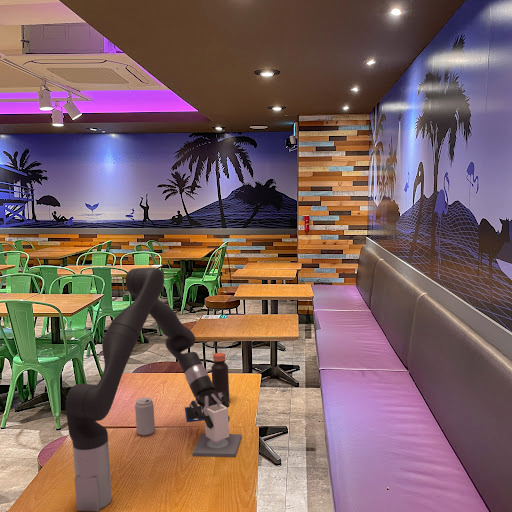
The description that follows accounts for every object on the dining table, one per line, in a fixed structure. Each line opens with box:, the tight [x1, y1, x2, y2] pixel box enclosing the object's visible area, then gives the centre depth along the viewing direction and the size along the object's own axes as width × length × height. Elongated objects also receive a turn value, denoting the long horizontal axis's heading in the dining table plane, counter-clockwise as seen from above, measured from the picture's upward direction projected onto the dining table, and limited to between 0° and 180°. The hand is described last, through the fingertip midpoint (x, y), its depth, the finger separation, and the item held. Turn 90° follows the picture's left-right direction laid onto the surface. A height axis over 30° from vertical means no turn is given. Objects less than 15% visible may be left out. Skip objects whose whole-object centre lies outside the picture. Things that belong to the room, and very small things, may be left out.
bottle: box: [210, 352, 230, 403], centre depth 210 cm, size 7×7×20 cm
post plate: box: [191, 433, 243, 458], centre depth 173 cm, size 14×14×7 cm
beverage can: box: [134, 397, 156, 437], centre depth 185 cm, size 6×6×12 cm
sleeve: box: [204, 404, 230, 442], centre depth 172 cm, size 6×6×10 cm
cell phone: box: [184, 405, 205, 423], centre depth 200 cm, size 7×14×1 cm, turn 11°
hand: (219, 424), depth 171 cm, fingers closed on sleeve, 5 cm apart
